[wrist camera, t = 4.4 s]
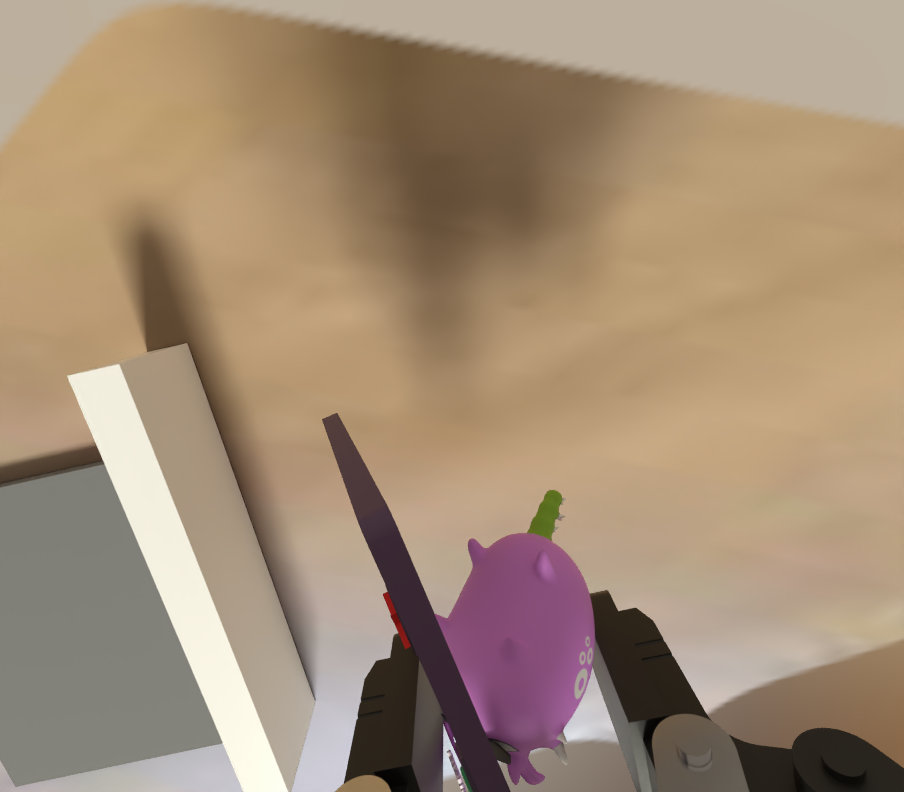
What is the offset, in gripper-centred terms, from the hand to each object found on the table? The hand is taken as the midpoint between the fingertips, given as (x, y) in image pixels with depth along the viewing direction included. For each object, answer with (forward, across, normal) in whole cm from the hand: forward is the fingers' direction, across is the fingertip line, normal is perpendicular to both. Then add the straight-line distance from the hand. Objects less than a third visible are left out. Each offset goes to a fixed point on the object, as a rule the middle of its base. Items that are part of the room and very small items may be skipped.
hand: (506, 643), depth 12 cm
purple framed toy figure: (+1, 0, -2) cm, 3 cm away
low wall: (+7, +10, -1) cm, 12 cm away
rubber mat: (+7, +17, +1) cm, 18 cm away
